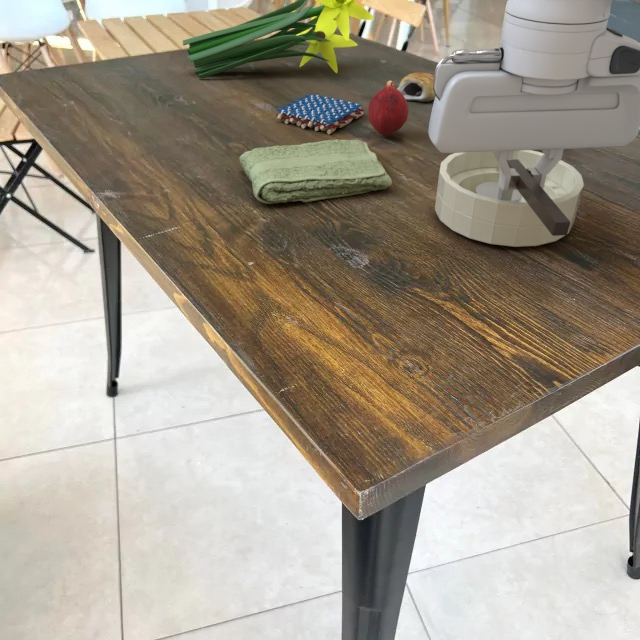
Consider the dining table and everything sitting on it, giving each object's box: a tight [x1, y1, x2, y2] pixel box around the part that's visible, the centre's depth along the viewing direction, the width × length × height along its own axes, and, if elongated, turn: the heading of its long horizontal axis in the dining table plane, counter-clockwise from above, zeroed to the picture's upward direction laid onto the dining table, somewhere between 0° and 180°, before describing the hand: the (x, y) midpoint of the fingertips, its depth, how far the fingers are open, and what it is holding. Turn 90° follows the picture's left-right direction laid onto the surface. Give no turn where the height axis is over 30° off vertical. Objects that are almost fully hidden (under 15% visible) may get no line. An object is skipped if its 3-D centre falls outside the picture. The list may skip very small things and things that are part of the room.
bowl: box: [434, 150, 585, 248], centre depth 74 cm, size 16×16×6 cm
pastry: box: [396, 71, 435, 103], centre depth 110 cm, size 9×7×4 cm
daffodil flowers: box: [182, 0, 375, 79], centre depth 117 cm, size 17×15×35 cm
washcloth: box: [238, 138, 393, 205], centre depth 83 cm, size 13×18×3 cm
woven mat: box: [275, 93, 365, 135], centre depth 101 cm, size 10×11×2 cm
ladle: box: [475, 159, 570, 236], centre depth 67 cm, size 19×5×7 cm, turn 5°
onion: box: [367, 80, 410, 138], centre depth 93 cm, size 6×6×8 cm
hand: (520, 187), depth 67 cm, fingers closed on ladle
